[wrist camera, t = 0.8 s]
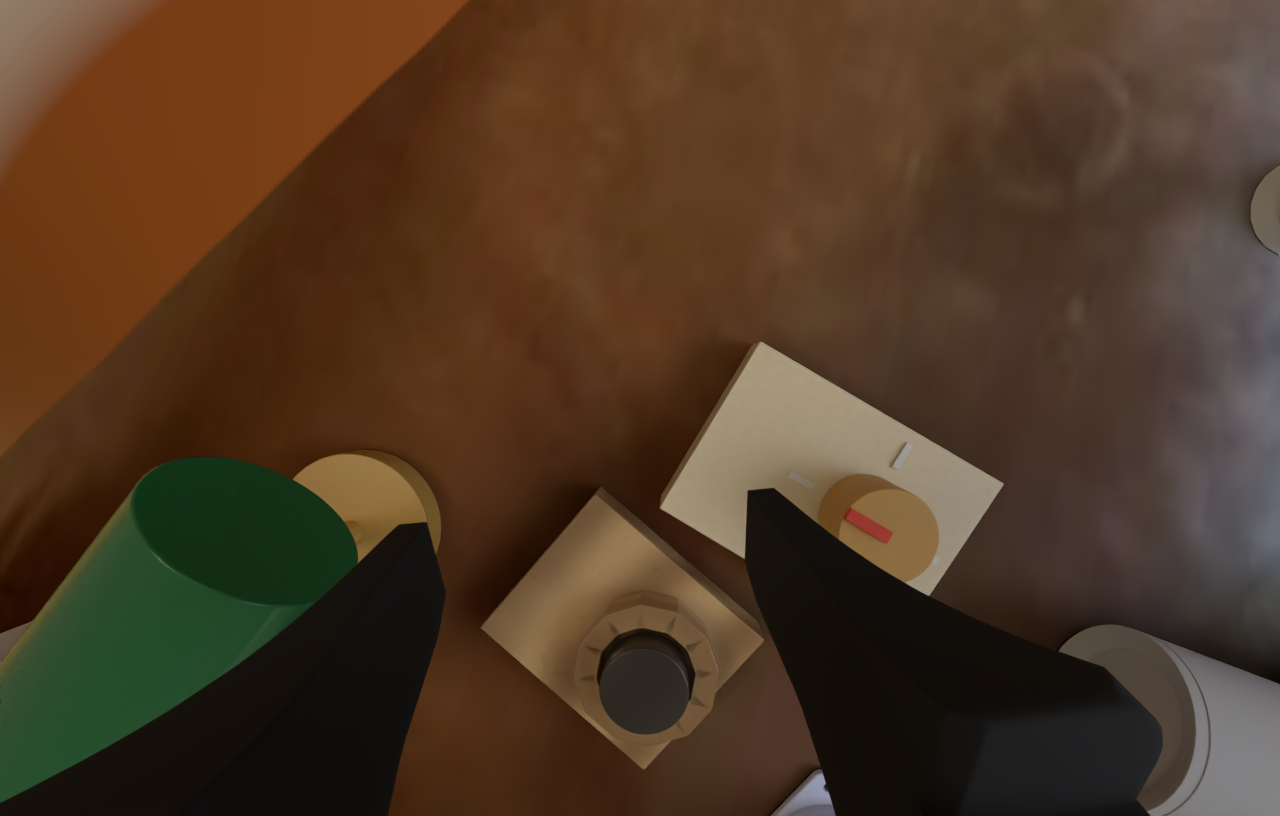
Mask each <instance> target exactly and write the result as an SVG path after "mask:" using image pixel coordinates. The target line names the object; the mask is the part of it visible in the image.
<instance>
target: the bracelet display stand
mask: <svg viewBox="0 0 1280 816" xmlns="http://www.w3.org/2000/svg"><path fill="white" fill-rule="evenodd" d="M419 522H427V524H428V528H429V531H430V535H431V539H432V542H433V546H434V550H435V554H436V553H437V551H438V547H439V543H440V537H441V518H440V512H439V508H438V504H437V501H436V499H435V496H434V494H433V492H432V490H431V488H430V487H429V485H428V483H427V482H426V481H425V480H424V478H423V477H422V476H421V475H420V474H419V473H418V472H417V471H416V470H415V469H414V468H413V467H412V466H410V465H409V464H408V463H406V462H405V461H403V460H401V459H400V458H398V457H396V456H393V455H391V454H388V453H385V452H381V451H376V450H354V451H348V452H344V453H340V454H336V455H332V456H328V457H325V458H322V459H320V460H317V461H315V462H313V463H312V464H310V465H308V466H307V467H305V468H304V469H303V470H302V471H301V472H299V473H298V474H297V475H296V477H295V478H294V479H293V480H292V479H290V478H289V477H287V476H285V475H282V474H280V473H278V472H275V471H273V470H270V469H268V468H265V467H262V466H259V465H255V464H252V463H248V462H244V461H240V460H235V459H228V458H221V457H189V458H182V459H177V460H173V461H169V462H167V463H164V464H162V465H159V466H157V467H156V468H154V469H152V470H150V471H149V472H147V473H146V474H145V475H144V476H143V477H142V478H141V479H140V480H139V481H138V483H137V484H136V485H135V486H134V488H133V489H132V490H131V492H130V493H129V494H128V496H127V497H126V498H125V500H124V501H123V502H122V504H121V505H120V506H119V508H118V509H117V510H116V512H115V513H114V514H113V516H112V517H111V518H110V520H109V521H108V522H107V523H106V525H105V526H104V527H103V529H102V530H101V531H100V533H99V534H98V535H97V537H96V538H95V539H94V541H93V542H92V543H91V545H90V546H89V547H88V549H87V550H86V551H85V553H84V554H83V555H82V556H81V558H80V559H79V560H78V562H77V563H76V564H75V566H74V567H73V568H72V570H71V571H70V572H69V574H68V575H67V576H66V578H65V579H64V580H63V582H62V583H61V584H60V586H59V587H58V588H57V590H56V591H55V592H54V593H53V595H52V596H51V597H50V599H49V600H48V601H47V603H46V604H45V605H44V607H43V608H42V609H41V611H40V612H39V613H38V615H37V616H36V617H35V619H34V620H33V621H32V623H31V624H30V625H29V626H28V628H27V629H26V630H25V632H24V633H23V634H22V636H21V637H20V638H19V640H18V641H17V642H16V644H15V645H14V646H13V648H12V649H11V650H10V652H9V653H8V654H7V656H6V657H5V658H4V660H3V661H2V662H1V663H0V803H1V802H3V801H5V800H7V799H9V798H11V797H13V796H15V795H17V794H19V793H21V792H23V791H25V790H27V789H29V788H31V787H33V786H34V785H36V784H38V783H40V782H42V781H44V780H46V779H48V778H50V777H52V776H54V775H56V774H57V773H59V772H61V771H63V770H65V769H67V768H69V767H71V766H73V765H75V764H77V763H79V762H80V761H82V760H84V759H86V758H88V757H90V756H92V755H93V754H95V753H97V752H99V751H101V750H102V749H104V748H106V747H108V746H109V745H111V744H113V743H115V742H116V741H118V740H120V739H122V738H123V737H125V736H127V735H129V734H130V733H132V732H134V731H135V730H137V729H139V728H141V727H142V726H144V725H146V724H147V723H149V722H151V721H152V720H154V719H156V718H157V717H159V716H160V715H162V714H164V713H165V712H167V711H169V710H170V709H172V708H173V707H175V706H177V705H178V704H180V703H181V702H183V701H184V700H186V699H187V698H189V697H190V696H192V695H193V694H195V693H196V692H198V691H199V690H201V689H202V688H204V687H205V686H207V685H208V684H210V683H211V682H213V681H214V680H216V679H217V678H219V677H220V676H222V675H223V674H225V673H226V672H228V671H229V670H231V669H232V668H233V667H235V666H236V665H238V664H239V663H240V662H242V661H243V660H244V659H246V658H247V657H249V656H250V655H251V654H253V653H254V652H255V651H257V650H258V649H259V648H261V647H262V646H263V645H265V644H266V643H267V642H268V641H270V640H271V639H272V638H274V637H275V636H276V635H277V634H279V633H280V632H281V631H282V630H284V629H285V628H286V627H287V626H288V625H290V624H291V623H292V622H293V621H294V620H296V619H297V618H298V617H299V616H300V615H301V614H302V613H304V612H305V611H306V610H307V609H308V608H309V607H310V606H312V605H313V604H314V603H315V602H316V601H317V600H319V599H320V598H321V597H322V596H323V595H324V594H325V593H327V592H328V591H329V590H330V589H331V588H332V587H333V586H334V585H335V584H336V583H338V582H339V581H340V580H341V579H342V578H343V577H344V576H345V575H346V574H347V573H348V572H349V571H350V570H351V569H352V568H353V567H354V566H355V565H357V564H358V563H359V562H360V561H361V560H362V559H363V558H364V557H365V556H366V555H367V554H368V553H369V552H370V551H371V550H372V549H373V548H374V547H375V546H376V545H377V544H378V543H379V542H380V541H381V540H382V539H383V538H385V537H386V536H387V535H388V534H389V533H390V532H391V531H392V530H393V529H394V528H395V527H397V526H398V525H399V524H409V523H419Z"/></svg>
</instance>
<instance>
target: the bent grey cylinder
mask: <svg viewBox="0 0 1280 816" xmlns="http://www.w3.org/2000/svg"><path fill="white" fill-rule="evenodd" d="M1059 652H1062V653H1065V654H1068V655H1071V656H1073V657H1076V658H1079V659H1082V660H1085V661H1088V662H1091V663H1094V664H1097V665H1100V666H1103V667H1105V668H1106V669H1107V670H1108V671H1109V672H1110V673H1111V674H1112V675H1113V676H1114V677H1115V678H1116V679H1117V680H1118V681H1119V682H1120V683H1121V684H1122V685H1123V686H1124V687H1125V688H1126V689H1127V690H1128V691H1129V692H1130V693H1131V694H1132V695H1133V696H1134V697H1135V698H1136V699H1137V700H1138V701H1139V702H1140V703H1141V704H1142V705H1143V706H1144V707H1145V708H1146V709H1147V710H1148V711H1149V712H1150V713H1151V714H1152V715H1153V716H1154V717H1155V718H1156V719H1157V721H1158V722H1159V724H1160V726H1161V727H1162V730H1163V749H1162V751H1161V754H1160V757H1159V759H1158V762H1157V764H1156V765H1155V767H1154V769H1153V771H1152V772H1151V774H1150V776H1149V778H1148V779H1147V781H1146V783H1145V785H1144V786H1143V788H1142V790H1141V791H1140V793H1139V795H1138V797H1137V798H1136V799H1137V800H1138V801H1139V803H1140V804H1141V805H1142V806H1143V807H1144V809H1145V810H1146V811H1147V812H1148V813H1149V814H1150V816H1280V684H1278V683H1276V682H1273V681H1270V680H1268V679H1265V678H1262V677H1260V676H1257V675H1254V674H1252V673H1249V672H1247V671H1244V670H1241V669H1239V668H1236V667H1233V666H1231V665H1228V664H1225V663H1223V662H1220V661H1217V660H1215V659H1212V658H1209V657H1207V656H1204V655H1201V654H1199V653H1196V652H1193V651H1191V650H1188V649H1185V648H1183V647H1180V646H1177V645H1175V644H1172V643H1169V642H1167V641H1164V640H1161V639H1159V638H1156V637H1153V636H1151V635H1148V634H1146V633H1143V632H1140V631H1138V630H1135V629H1132V628H1129V627H1125V626H1121V625H1112V624H1111V625H1099V626H1094V627H1091V628H1088V629H1085V630H1083V631H1081V632H1079V633H1077V634H1076V635H1074V636H1073V637H1072V638H1070V639H1069V640H1068V641H1067V642H1066V643H1065V644H1064V645H1063V646H1062V647H1061V648H1060V650H1059Z"/></svg>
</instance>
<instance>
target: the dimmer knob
mask: <svg viewBox="0 0 1280 816" xmlns="http://www.w3.org/2000/svg"><path fill="white" fill-rule="evenodd" d="M819 525H820V526H822V527H823V528H824V529H826V530H827V531H828V532H829V533H831V534H832V535H833V536H835V537H836V538H837V539H839V540H840V541H841V542H843V543H844V544H846V545H847V546H848V547H850V548H851V549H853V550H854V551H856V552H857V553H858V554H860V555H861V556H863V557H864V558H866V559H867V560H869V561H870V562H872V563H873V564H875V565H876V566H878V567H879V568H881V569H883V570H884V571H886V572H887V573H889V574H891V575H892V576H894V577H896V578H898V579H899V580H901V581H903V582H908V581H910V580H912V579H914V578H916V577H917V576H919V575H920V574H921V573H923V572H924V571H925V570H926V569H927V568H928V566H929V565H930V564H931V562H932V561H933V559H934V557H935V555H936V552H937V549H938V545H939V529H938V524H937V521H936V518H935V516H934V514H933V512H932V511H931V509H930V508H929V507H928V505H927V504H926V503H925V502H924V501H923V500H921V499H920V498H919V497H917V496H916V495H914V494H912V493H910V492H908V491H906V490H904V489H903V488H901V487H899V486H897V485H895V484H893V483H891V482H889V481H887V480H885V479H883V478H881V477H878V476H874V475H868V474H859V475H853V476H850V477H847V478H844V479H842V480H841V481H839V482H837V483H836V484H835V485H834V486H832V487H831V488H830V490H829V491H828V492H827V493H826V495H825V496H824V498H823V500H822V503H821V505H820V510H819Z"/></svg>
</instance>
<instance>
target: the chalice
mask: <svg viewBox="0 0 1280 816" xmlns="http://www.w3.org/2000/svg"><path fill="white" fill-rule="evenodd" d="M1251 222H1252V225H1253V228H1254V231H1255V234H1256V236H1257V237H1258V238H1259V239H1260V241H1261V242H1262V243H1263V244H1264V246H1265V247H1267V248H1268V249H1270V250H1272V251H1273V252H1275V253H1276V254H1278V255H1280V165H1279V166H1278V167H1276V168H1275V169H1274V170H1272V171H1271V172H1270V173H1268V174H1267V175H1266V176H1265V177H1264V179H1263V180H1262V182H1261V183H1260V184H1259V186H1258V187H1257V188H1256V191H1255V194H1254V197H1253V200H1252V203H1251Z"/></svg>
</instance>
